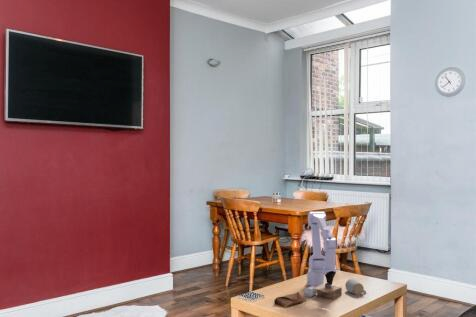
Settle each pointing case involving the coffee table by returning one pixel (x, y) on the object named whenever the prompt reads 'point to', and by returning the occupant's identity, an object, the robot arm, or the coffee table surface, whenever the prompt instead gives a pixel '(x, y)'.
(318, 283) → the robot arm
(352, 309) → the coffee table surface
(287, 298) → the sunglasses case
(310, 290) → the white rounded piece
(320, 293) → the keepsake box
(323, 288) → the lid
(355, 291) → the ceramic mug
